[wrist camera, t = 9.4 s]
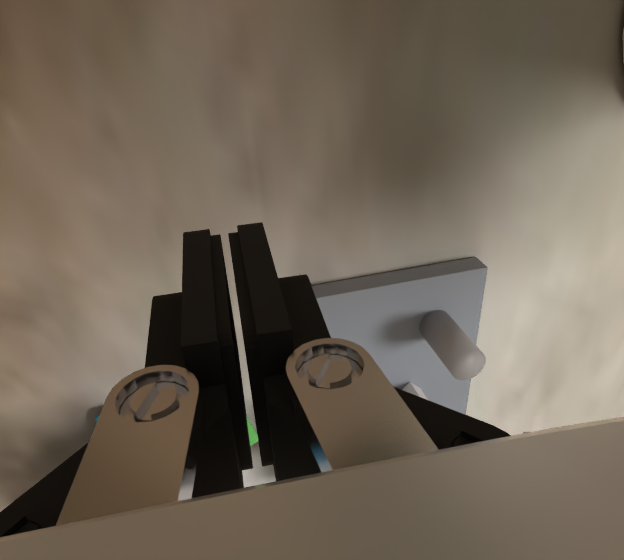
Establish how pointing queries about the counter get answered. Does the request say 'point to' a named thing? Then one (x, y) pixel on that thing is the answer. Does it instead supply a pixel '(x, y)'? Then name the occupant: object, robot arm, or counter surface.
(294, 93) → the counter surface
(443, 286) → the carrier plate
